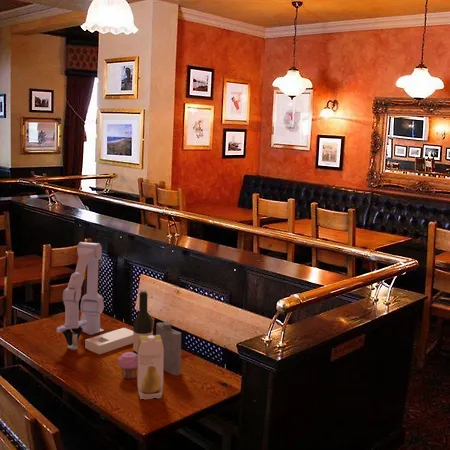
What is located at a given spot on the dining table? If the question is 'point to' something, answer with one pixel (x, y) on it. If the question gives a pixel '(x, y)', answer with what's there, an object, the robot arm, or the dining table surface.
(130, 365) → the cupcake
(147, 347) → the juice carton
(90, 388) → the dining table surface
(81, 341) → the dining table surface
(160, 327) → the hip flask
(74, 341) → the pinkish white rectangular block
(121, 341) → the pale beige flat-sided block
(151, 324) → the wine bottle
